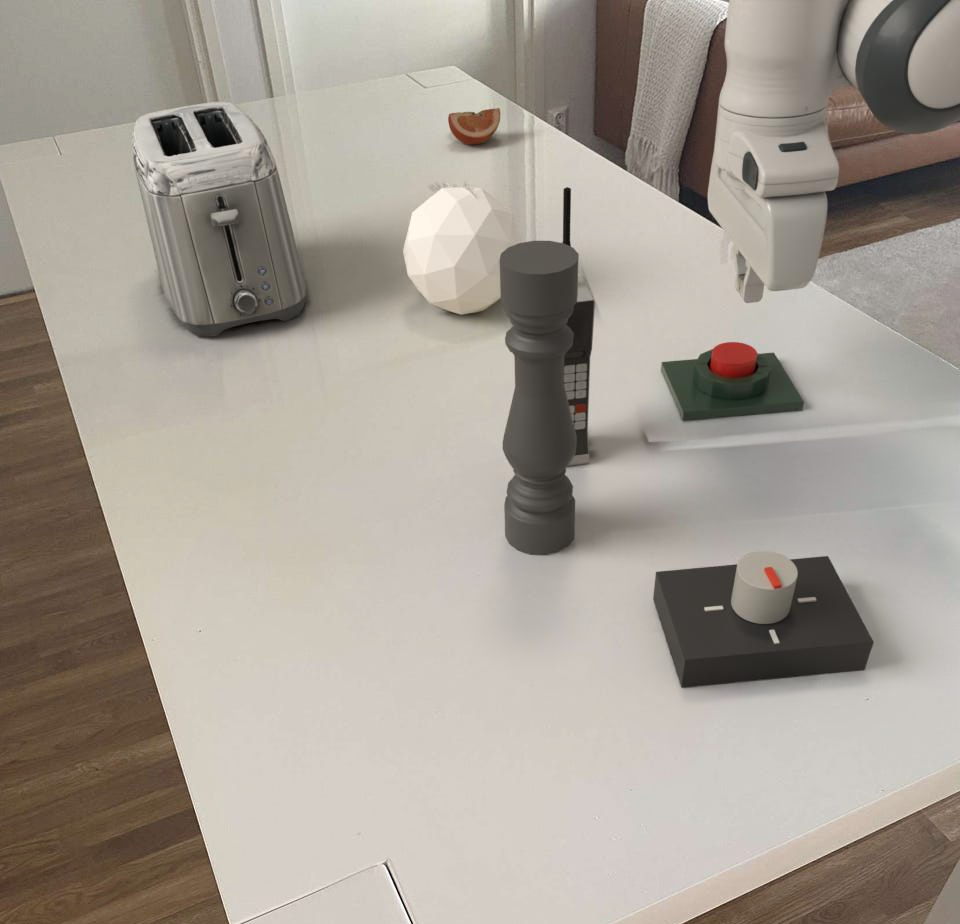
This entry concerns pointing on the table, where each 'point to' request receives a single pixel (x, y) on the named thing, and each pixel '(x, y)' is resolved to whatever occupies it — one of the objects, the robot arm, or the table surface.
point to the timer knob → (764, 587)
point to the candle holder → (539, 394)
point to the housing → (729, 389)
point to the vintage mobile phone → (578, 352)
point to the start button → (733, 360)
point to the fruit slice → (474, 125)
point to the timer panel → (759, 627)
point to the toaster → (217, 217)
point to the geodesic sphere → (459, 247)
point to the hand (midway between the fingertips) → (747, 296)
